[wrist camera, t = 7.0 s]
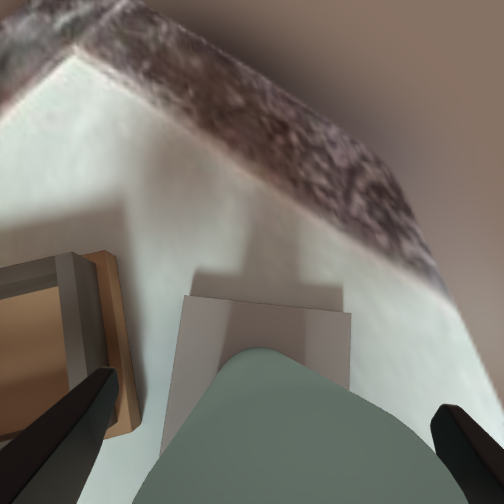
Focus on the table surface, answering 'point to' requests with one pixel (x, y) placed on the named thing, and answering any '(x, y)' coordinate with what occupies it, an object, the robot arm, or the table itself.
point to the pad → (249, 346)
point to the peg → (293, 445)
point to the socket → (61, 338)
